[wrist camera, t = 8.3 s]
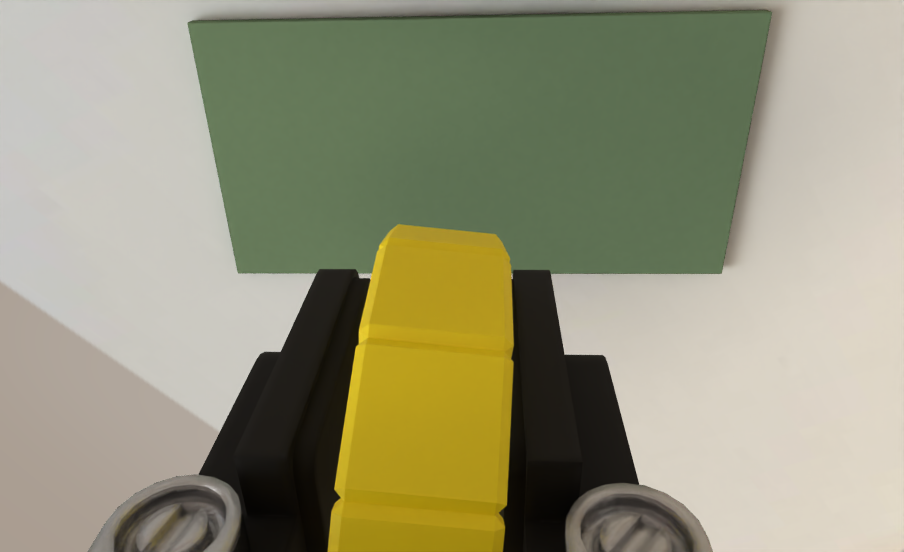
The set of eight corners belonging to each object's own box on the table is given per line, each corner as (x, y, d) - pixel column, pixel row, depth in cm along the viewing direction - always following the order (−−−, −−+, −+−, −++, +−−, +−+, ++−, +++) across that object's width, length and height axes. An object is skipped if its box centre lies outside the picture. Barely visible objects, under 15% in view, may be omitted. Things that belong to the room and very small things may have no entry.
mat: (767, 9, 23) (772, 11, 23) (718, 268, 28) (722, 274, 27) (192, 20, 24) (186, 22, 24) (241, 268, 29) (237, 273, 28)
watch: (352, 154, 9) (188, 480, 4) (554, 174, 9) (651, 525, 4) (344, 473, 12) (242, 904, 7) (498, 487, 12) (513, 927, 7)
